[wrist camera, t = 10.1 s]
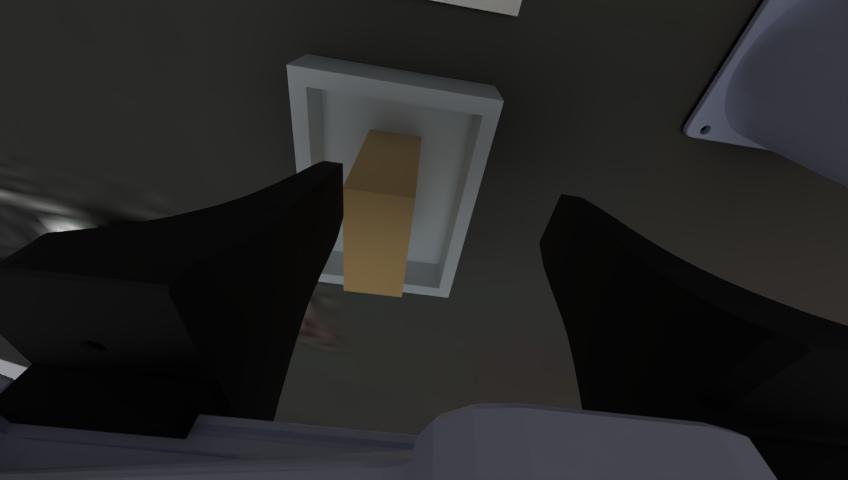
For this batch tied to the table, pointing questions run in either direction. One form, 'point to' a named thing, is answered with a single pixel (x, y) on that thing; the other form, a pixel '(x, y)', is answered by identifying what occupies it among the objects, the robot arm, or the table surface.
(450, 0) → the box
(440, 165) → the parts tray
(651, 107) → the table surface
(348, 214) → the block
